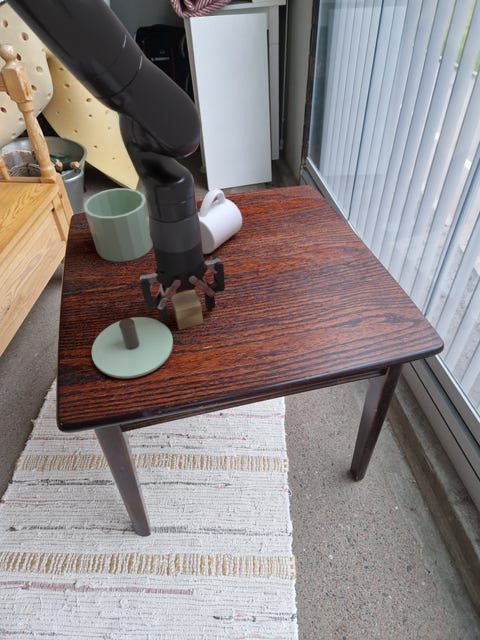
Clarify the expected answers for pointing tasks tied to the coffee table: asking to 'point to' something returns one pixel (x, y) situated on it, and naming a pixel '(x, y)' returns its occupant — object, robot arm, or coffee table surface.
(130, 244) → the jar
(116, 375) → the lid
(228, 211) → the mug
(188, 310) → the block
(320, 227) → the coffee table surface
